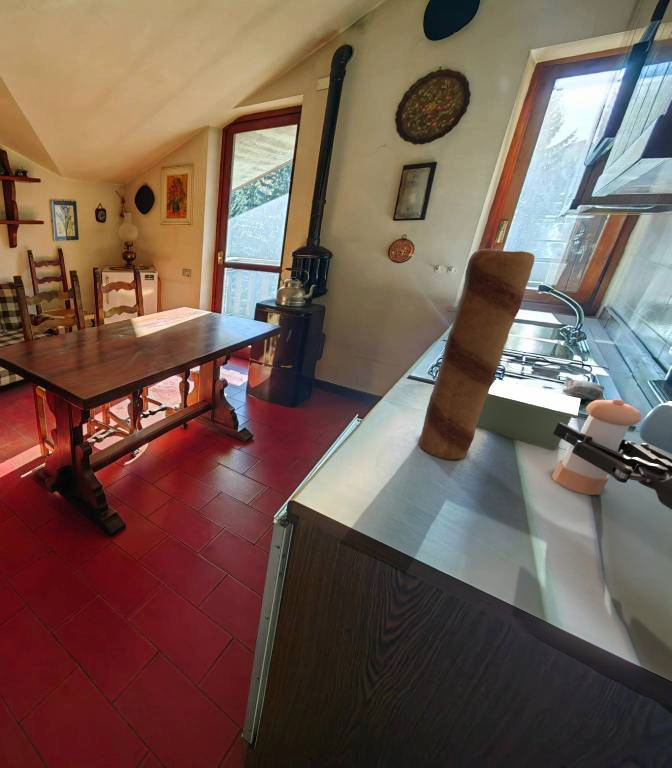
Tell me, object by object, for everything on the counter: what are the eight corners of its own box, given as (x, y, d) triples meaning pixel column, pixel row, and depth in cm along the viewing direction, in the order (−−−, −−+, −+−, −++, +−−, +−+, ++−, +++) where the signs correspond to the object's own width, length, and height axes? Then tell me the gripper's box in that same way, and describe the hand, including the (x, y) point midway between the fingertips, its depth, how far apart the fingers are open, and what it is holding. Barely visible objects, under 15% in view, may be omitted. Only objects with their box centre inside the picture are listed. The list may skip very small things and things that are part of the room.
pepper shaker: (600, 484, 80) (647, 400, 73) (601, 500, 75) (651, 412, 68) (552, 469, 85) (591, 388, 78) (550, 483, 80) (591, 399, 73)
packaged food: (559, 397, 122) (566, 383, 120) (561, 387, 129) (568, 374, 127) (599, 407, 116) (607, 392, 114) (599, 396, 123) (606, 382, 122)
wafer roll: (408, 434, 99) (464, 247, 81) (456, 441, 96) (525, 249, 78) (420, 455, 90) (486, 250, 72) (473, 464, 87) (556, 252, 69)
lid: (579, 401, 97) (580, 398, 97) (576, 418, 88) (577, 415, 88) (495, 382, 109) (496, 379, 108) (484, 395, 100) (485, 392, 99)
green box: (560, 431, 101) (575, 400, 98) (555, 451, 92) (571, 417, 89) (484, 411, 112) (495, 382, 109) (473, 426, 103) (484, 395, 100)
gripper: (636, 519, 62) (520, 442, 83) (761, 525, 61) (611, 446, 82) (660, 480, 59) (533, 411, 80) (792, 485, 58) (628, 414, 79)
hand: (573, 429), depth 81 cm, fingers closed on pepper shaker, 5 cm apart
